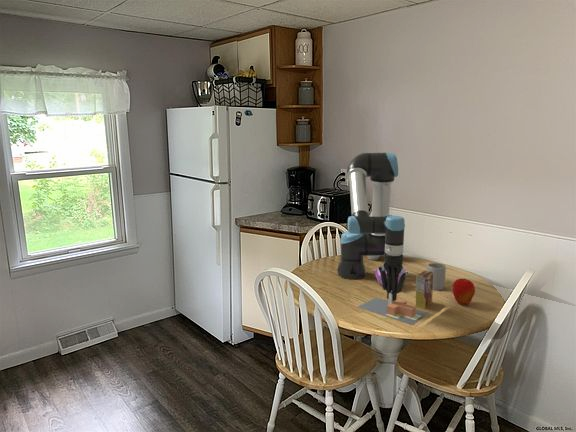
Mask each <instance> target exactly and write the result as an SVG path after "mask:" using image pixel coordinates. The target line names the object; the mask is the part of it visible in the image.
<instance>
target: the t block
mask: <svg viewBox="0 0 576 432" xmlns="http://www.w3.org/2000/svg"><path fill="white" fill-rule="evenodd" d="M407 303H408V302H407V300H404V299H401V298H397V299H396V300H395V302H393V303H391V304H389V305H387V314H389V315H392V316H395V315H397V314H401V315H404V316H407V317H410V318H412V317H413V316H415V314H416V309H417V307H416V306H413V305H409V304H407Z"/></svg>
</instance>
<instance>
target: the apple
mask: <svg viewBox="0 0 576 432" xmlns="http://www.w3.org/2000/svg"><path fill="white" fill-rule="evenodd" d="M475 291H476V287H475V285H474V283H473V282H472V281H471V280H470V279H467V278H458V279H456V280H454V282H453V284H452V294H453V297H454V300H455V301H456V302H457V303H458V304H459V305H461V306H464V305H465V306H466V305H468V304H469V303H470V302H471V301H472V299H473V298H474V296H475Z"/></svg>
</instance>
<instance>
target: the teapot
mask: <svg viewBox="0 0 576 432" xmlns="http://www.w3.org/2000/svg"><path fill="white" fill-rule="evenodd" d="M403 270H404V271H405V272H406V270H408V268H407V267H403ZM371 271H373V272H374V274H375V277H376V279H377V280H376V281H377V283H378V284H379V285H380V287H382V288H383V285H382V280H381V274H380V271H379V269H378V268H377V270H376V269H371ZM385 271H386V270H385ZM386 276H387V272H386ZM400 277H401V272H400V274H399V277H398V283H399V280H400Z"/></svg>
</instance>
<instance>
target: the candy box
mask: <svg viewBox="0 0 576 432" xmlns="http://www.w3.org/2000/svg"><path fill="white" fill-rule="evenodd" d="M415 279H416V280H415V283H416V284H415V307H416V308H418V309H422V310H425V309H426V308H428V307H429V306H431V305H432V304H433V291H434V290H433V272H431V271H427V269H426V270H423V271H422V272H420V273H418V274H417V275H416V278H415Z"/></svg>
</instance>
